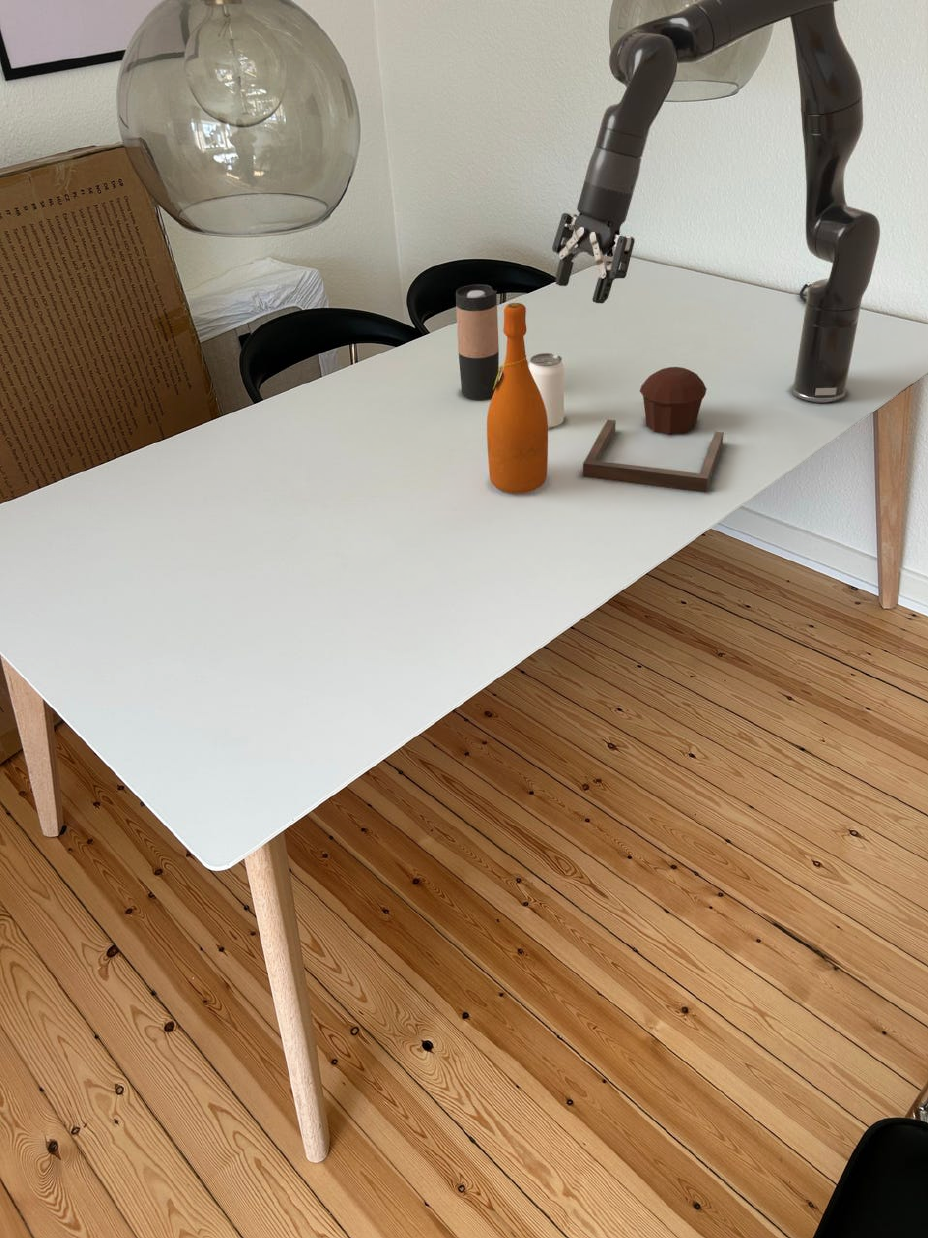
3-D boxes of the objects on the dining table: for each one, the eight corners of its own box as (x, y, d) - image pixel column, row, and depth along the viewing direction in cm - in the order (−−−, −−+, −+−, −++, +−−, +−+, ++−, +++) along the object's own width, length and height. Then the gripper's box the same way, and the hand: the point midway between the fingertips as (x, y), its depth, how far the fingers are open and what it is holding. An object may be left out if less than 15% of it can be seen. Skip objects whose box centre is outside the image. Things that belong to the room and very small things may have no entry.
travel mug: (454, 398, 197) (448, 296, 185) (469, 382, 203) (464, 282, 191) (491, 403, 195) (488, 299, 183) (505, 387, 200) (502, 285, 188)
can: (561, 429, 184) (561, 366, 177) (526, 428, 185) (525, 365, 178) (565, 414, 189) (566, 352, 182) (531, 413, 190) (530, 351, 183)
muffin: (681, 405, 190) (685, 353, 184) (716, 428, 181) (721, 375, 175) (626, 419, 186) (628, 367, 180) (658, 443, 178) (662, 389, 172)
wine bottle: (517, 462, 175) (513, 288, 157) (560, 480, 169) (561, 301, 151) (476, 483, 170) (468, 306, 152) (520, 503, 164) (516, 320, 146)
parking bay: (607, 432, 182) (607, 419, 181) (722, 445, 176) (724, 432, 175) (582, 476, 170) (583, 463, 168) (706, 492, 164) (707, 478, 162)
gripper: (660, 199, 149) (627, 309, 157) (594, 174, 157) (565, 280, 165) (626, 194, 144) (593, 308, 152) (559, 169, 153) (532, 278, 161)
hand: (579, 293), depth 159 cm, fingers open, 8 cm apart
